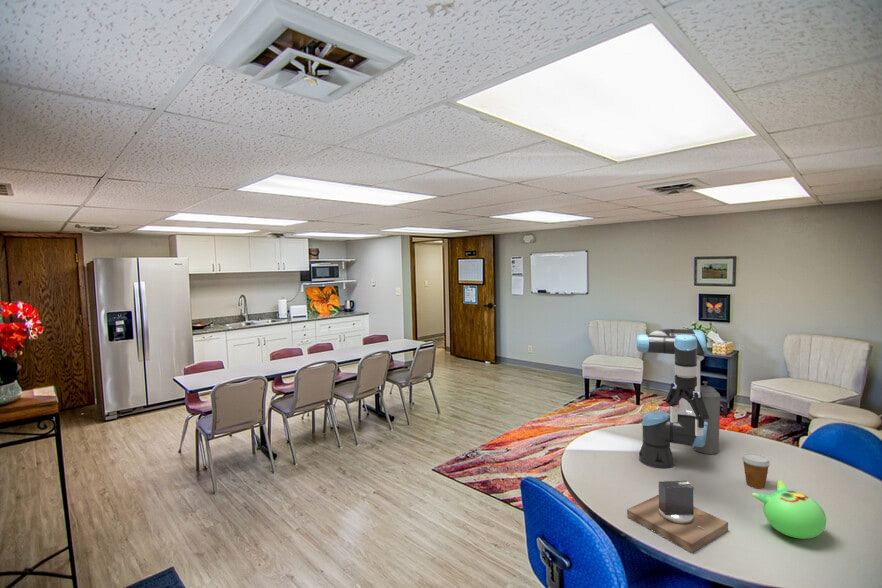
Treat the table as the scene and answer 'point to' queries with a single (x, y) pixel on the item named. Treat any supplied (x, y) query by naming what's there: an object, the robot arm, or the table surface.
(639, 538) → the table surface
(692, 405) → the robot arm
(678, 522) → the dial
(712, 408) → the canister
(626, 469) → the table surface
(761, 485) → the disposable coffee cup
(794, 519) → the toy bird
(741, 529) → the table surface
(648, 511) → the dial panel
